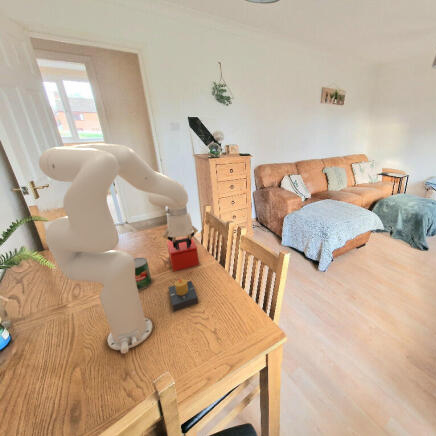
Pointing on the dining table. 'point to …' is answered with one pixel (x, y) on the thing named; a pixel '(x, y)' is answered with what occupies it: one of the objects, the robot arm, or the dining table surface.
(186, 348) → the dining table surface
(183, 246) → the red box lid
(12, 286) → the dining table surface
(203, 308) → the dining table surface
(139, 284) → the canned tomato
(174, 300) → the panel
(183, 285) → the knob
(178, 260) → the open red box
